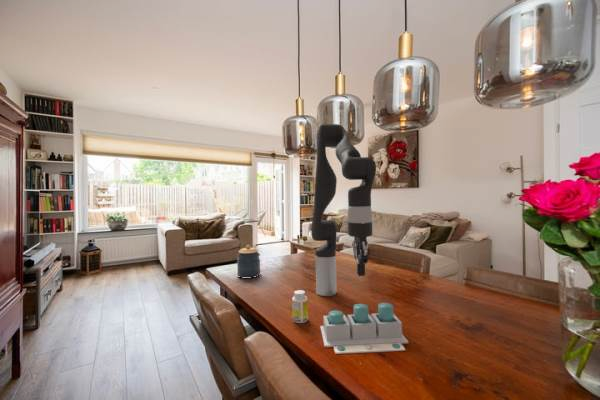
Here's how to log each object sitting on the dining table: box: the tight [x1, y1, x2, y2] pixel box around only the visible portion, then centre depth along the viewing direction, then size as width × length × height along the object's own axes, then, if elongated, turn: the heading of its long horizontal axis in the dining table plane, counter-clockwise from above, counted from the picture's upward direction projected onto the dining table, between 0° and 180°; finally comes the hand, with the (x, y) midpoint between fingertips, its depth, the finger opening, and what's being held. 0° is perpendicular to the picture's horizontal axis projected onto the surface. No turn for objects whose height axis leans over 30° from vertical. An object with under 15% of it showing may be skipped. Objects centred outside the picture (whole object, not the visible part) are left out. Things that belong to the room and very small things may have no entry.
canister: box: [236, 244, 261, 277], centre depth 154 cm, size 13×13×18 cm
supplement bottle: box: [291, 289, 309, 324], centre depth 97 cm, size 6×6×10 cm
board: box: [319, 312, 409, 348], centre depth 86 cm, size 12×25×5 cm, turn 92°
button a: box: [328, 310, 344, 325], centre depth 86 cm, size 5×5×6 cm
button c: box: [377, 302, 395, 322], centre depth 86 cm, size 5×5×6 cm
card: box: [332, 343, 406, 355], centre depth 78 cm, size 3×20×1 cm, turn 92°
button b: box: [353, 303, 369, 323], centre depth 86 cm, size 5×5×6 cm
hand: (361, 275), depth 86 cm, fingers closed
